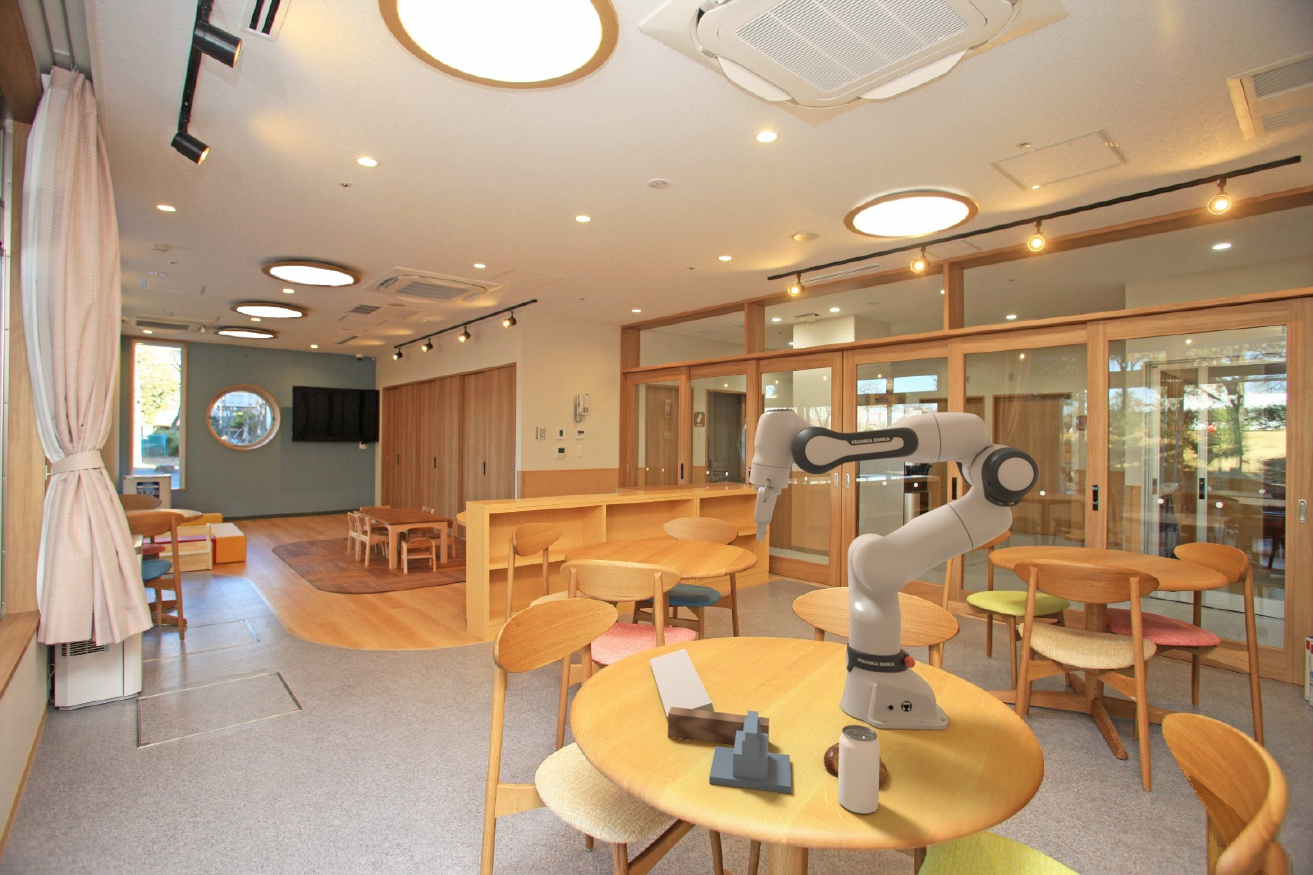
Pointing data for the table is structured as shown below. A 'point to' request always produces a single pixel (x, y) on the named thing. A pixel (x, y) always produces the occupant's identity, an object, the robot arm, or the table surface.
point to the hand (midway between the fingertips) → (760, 537)
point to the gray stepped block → (751, 761)
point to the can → (858, 769)
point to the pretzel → (833, 763)
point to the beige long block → (679, 682)
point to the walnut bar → (708, 725)
